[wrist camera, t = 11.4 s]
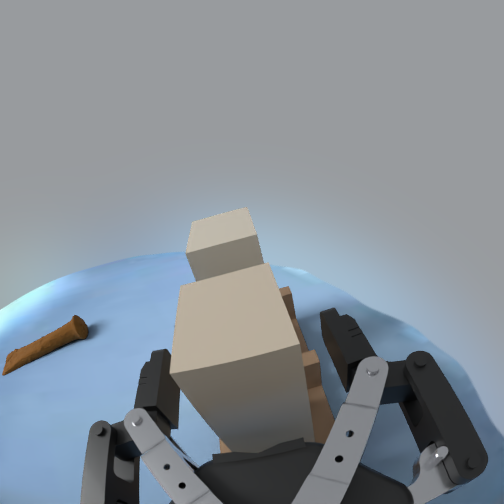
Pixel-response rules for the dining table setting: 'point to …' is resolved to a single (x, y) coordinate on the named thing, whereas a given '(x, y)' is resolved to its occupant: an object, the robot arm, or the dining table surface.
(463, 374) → the dining table surface
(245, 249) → the tall square post
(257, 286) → the beige rectangular block
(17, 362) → the primitive tool
